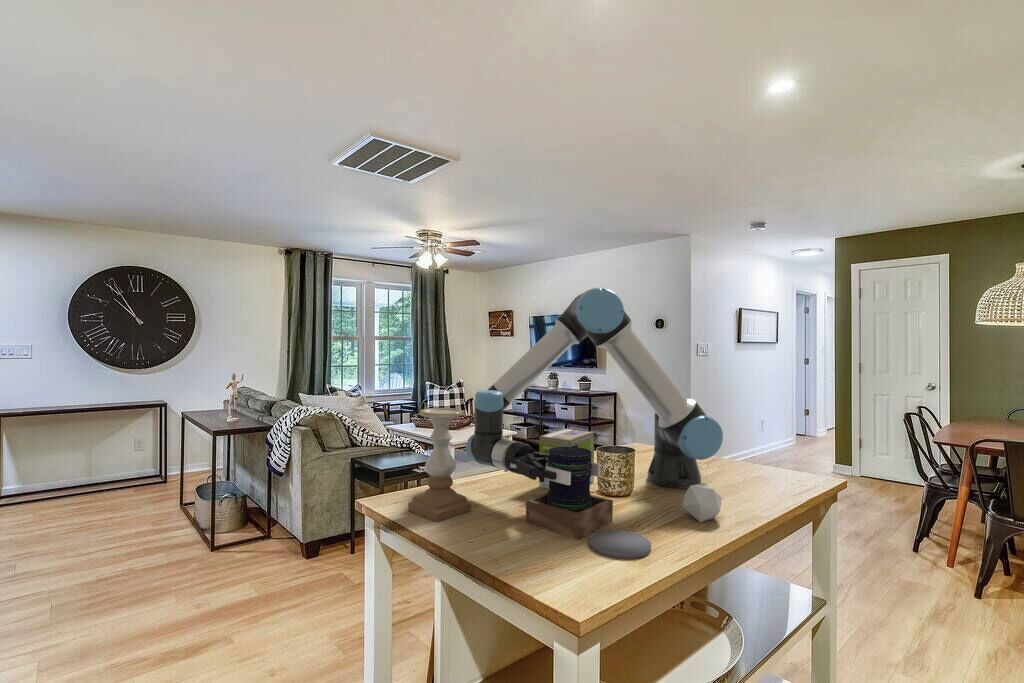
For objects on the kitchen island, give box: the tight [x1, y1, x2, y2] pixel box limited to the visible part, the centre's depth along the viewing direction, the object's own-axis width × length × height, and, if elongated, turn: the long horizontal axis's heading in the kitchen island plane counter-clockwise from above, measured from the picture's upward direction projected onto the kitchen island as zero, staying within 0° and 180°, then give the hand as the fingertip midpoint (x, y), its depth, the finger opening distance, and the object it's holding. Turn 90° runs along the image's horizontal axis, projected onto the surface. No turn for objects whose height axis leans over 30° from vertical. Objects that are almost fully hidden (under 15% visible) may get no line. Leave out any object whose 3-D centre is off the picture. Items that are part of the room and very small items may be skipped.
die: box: [682, 482, 723, 523], centre depth 121 cm, size 8×9×10 cm
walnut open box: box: [525, 492, 614, 540], centre depth 116 cm, size 14×14×5 cm
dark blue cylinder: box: [547, 447, 592, 513], centre depth 116 cm, size 10×10×15 cm
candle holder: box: [407, 407, 472, 523], centre depth 122 cm, size 11×11×24 cm
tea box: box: [538, 428, 595, 490], centre depth 147 cm, size 15×10×15 cm
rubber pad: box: [589, 529, 652, 560], centre depth 103 cm, size 12×12×1 cm
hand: (584, 474), depth 113 cm, fingers closed on dark blue cylinder, 10 cm apart
